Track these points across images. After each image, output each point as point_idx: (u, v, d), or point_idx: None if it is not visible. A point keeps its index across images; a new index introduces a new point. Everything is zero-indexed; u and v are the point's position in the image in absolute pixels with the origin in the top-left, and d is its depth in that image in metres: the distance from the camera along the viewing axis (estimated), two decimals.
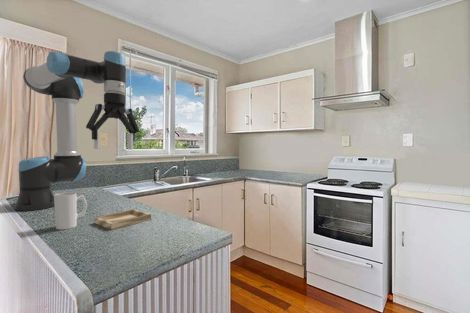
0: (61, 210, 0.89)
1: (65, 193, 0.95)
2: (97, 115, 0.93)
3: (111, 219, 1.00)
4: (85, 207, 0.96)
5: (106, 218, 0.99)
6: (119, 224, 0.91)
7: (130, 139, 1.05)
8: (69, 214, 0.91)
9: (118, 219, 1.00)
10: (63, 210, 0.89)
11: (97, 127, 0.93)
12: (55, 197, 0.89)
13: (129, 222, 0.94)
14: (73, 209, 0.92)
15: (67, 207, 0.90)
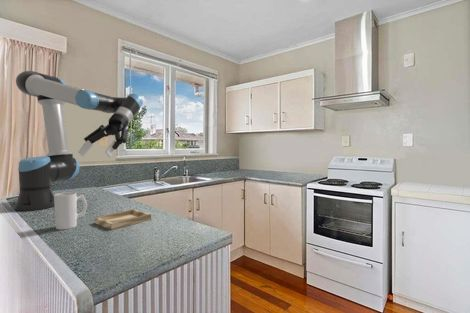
0: (61, 210, 0.89)
1: (65, 193, 0.95)
2: None
3: (111, 219, 1.00)
4: (85, 207, 0.96)
5: (106, 218, 0.99)
6: (119, 224, 0.91)
7: (88, 148, 1.07)
8: (69, 214, 0.91)
9: (118, 219, 1.00)
10: (63, 210, 0.89)
11: None
12: (55, 197, 0.89)
13: (129, 222, 0.94)
14: (73, 209, 0.92)
15: (67, 207, 0.90)
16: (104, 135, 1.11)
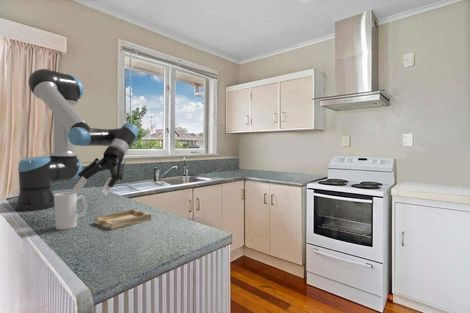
0: (61, 210, 0.89)
1: (65, 193, 0.95)
2: None
3: (111, 219, 1.00)
4: (85, 207, 0.96)
5: (106, 218, 0.99)
6: (119, 224, 0.91)
7: (83, 184, 1.03)
8: (69, 214, 0.91)
9: (118, 219, 1.00)
10: (63, 210, 0.89)
11: None
12: (55, 197, 0.89)
13: (129, 222, 0.94)
14: (73, 209, 0.92)
15: (67, 207, 0.90)
16: (99, 169, 1.07)
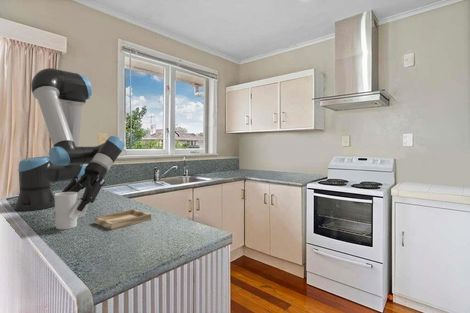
0: (62, 210, 0.89)
1: (65, 193, 0.94)
2: None
3: (111, 219, 1.00)
4: (85, 207, 0.96)
5: (106, 218, 0.99)
6: (119, 224, 0.91)
7: None
8: None
9: (118, 219, 1.00)
10: (63, 210, 0.89)
11: None
12: (56, 197, 0.89)
13: (129, 222, 0.94)
14: None
15: (68, 207, 0.90)
16: (80, 188, 0.99)
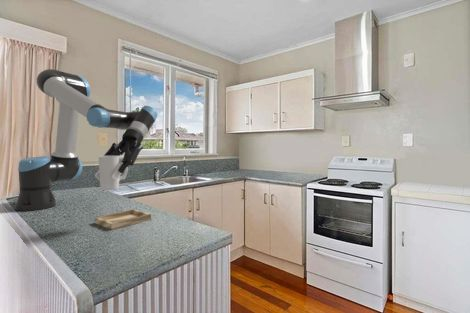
0: (106, 170, 0.92)
1: (107, 156, 0.97)
2: None
3: (111, 219, 1.00)
4: (126, 170, 0.99)
5: (106, 218, 0.99)
6: (119, 224, 0.91)
7: None
8: None
9: (118, 219, 1.00)
10: (108, 171, 0.92)
11: None
12: (100, 158, 0.92)
13: (129, 222, 0.94)
14: None
15: (112, 168, 0.93)
16: (120, 153, 1.03)
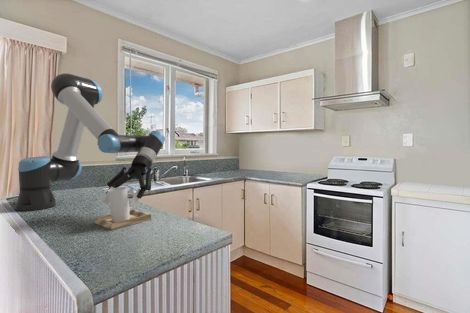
0: (117, 204, 0.94)
1: (115, 188, 0.99)
2: None
3: (111, 219, 1.00)
4: None
5: (106, 218, 0.99)
6: (119, 224, 0.91)
7: None
8: (124, 207, 0.96)
9: None
10: (119, 204, 0.94)
11: None
12: (110, 193, 0.94)
13: (129, 222, 0.94)
14: (127, 202, 0.97)
15: (122, 201, 0.95)
16: (128, 179, 1.05)
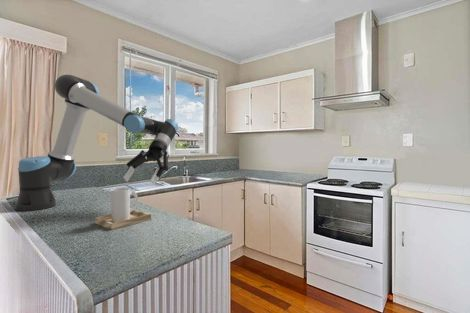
0: (119, 204, 0.95)
1: (118, 189, 1.00)
2: None
3: (111, 219, 1.00)
4: (136, 202, 1.02)
5: (106, 218, 0.99)
6: (119, 224, 0.91)
7: (131, 173, 1.14)
8: (125, 208, 0.96)
9: None
10: (120, 204, 0.95)
11: None
12: (113, 192, 0.95)
13: (129, 222, 0.94)
14: (128, 203, 0.97)
15: (124, 201, 0.96)
16: (145, 161, 1.17)
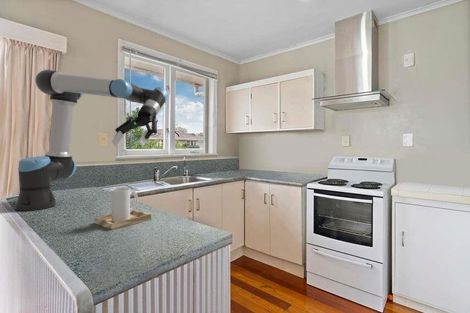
0: (119, 204, 0.95)
1: (118, 189, 1.00)
2: None
3: (111, 219, 1.00)
4: (136, 202, 1.02)
5: (106, 218, 0.99)
6: (119, 224, 0.91)
7: (120, 138, 1.13)
8: (125, 208, 0.96)
9: None
10: (120, 204, 0.95)
11: None
12: (113, 192, 0.95)
13: (129, 222, 0.94)
14: (128, 203, 0.97)
15: (124, 201, 0.96)
16: (134, 126, 1.16)
